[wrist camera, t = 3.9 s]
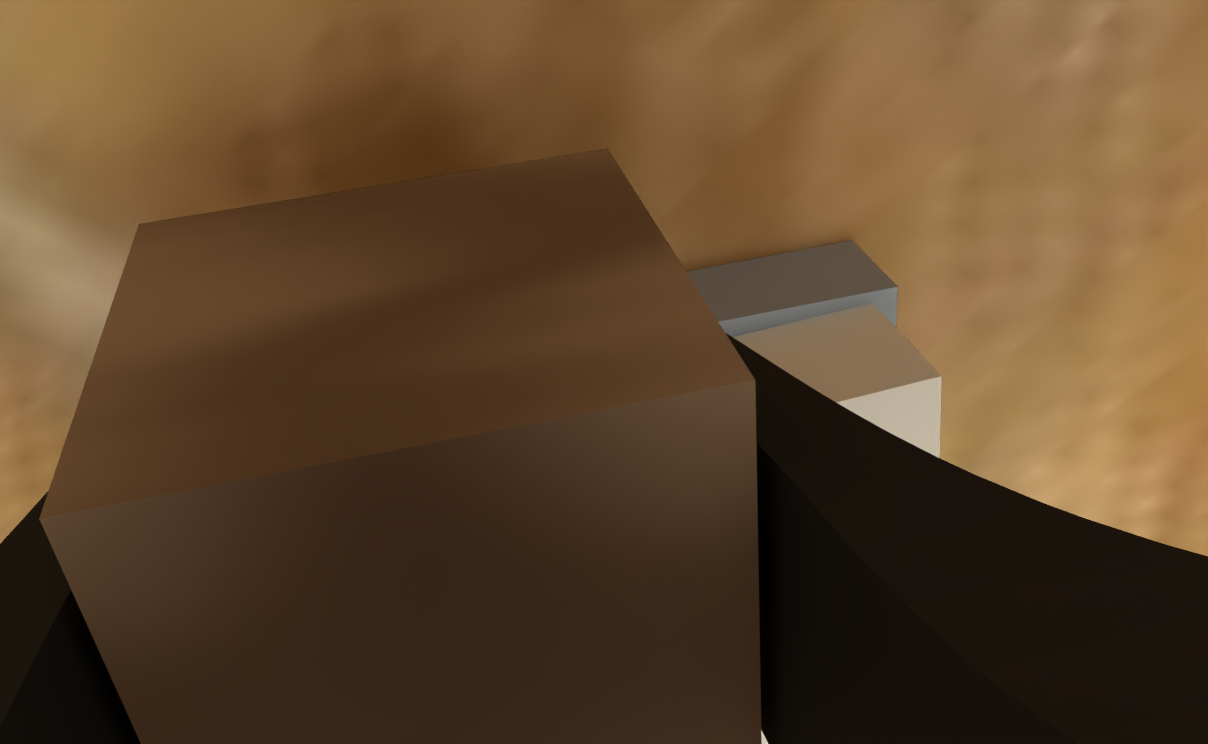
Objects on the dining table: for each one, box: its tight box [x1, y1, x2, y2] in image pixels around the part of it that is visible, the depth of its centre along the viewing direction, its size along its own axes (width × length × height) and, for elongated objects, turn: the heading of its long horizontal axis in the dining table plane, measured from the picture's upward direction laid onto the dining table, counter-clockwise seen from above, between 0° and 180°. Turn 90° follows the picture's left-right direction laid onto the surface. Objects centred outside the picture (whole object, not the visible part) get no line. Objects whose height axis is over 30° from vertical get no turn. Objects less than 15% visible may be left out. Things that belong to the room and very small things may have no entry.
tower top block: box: [733, 303, 942, 744], centre depth 21 cm, size 8×10×2 cm
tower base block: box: [686, 240, 898, 337], centre depth 22 cm, size 8×10×2 cm
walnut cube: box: [39, 149, 762, 744], centre depth 10 cm, size 4×4×4 cm
